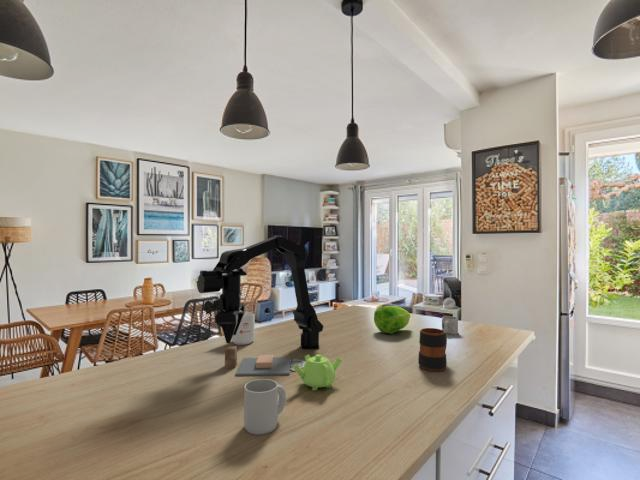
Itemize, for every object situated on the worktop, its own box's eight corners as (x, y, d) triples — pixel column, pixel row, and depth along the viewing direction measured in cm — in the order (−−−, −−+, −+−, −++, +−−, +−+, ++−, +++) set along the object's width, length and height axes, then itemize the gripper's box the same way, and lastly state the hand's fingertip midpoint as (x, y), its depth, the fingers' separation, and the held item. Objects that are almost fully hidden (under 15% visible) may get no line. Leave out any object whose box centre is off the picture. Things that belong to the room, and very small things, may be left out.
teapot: (331, 396, 91) (332, 364, 91) (290, 390, 95) (291, 359, 95) (342, 380, 102) (342, 351, 102) (305, 375, 106) (305, 347, 106)
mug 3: (444, 330, 160) (444, 315, 160) (459, 332, 156) (459, 317, 156) (437, 334, 152) (437, 319, 152) (453, 337, 148) (453, 321, 148)
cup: (238, 425, 77) (238, 384, 77) (276, 411, 84) (276, 373, 84) (254, 439, 72) (254, 395, 72) (294, 423, 78) (294, 383, 78)
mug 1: (250, 337, 146) (250, 311, 146) (257, 343, 138) (257, 315, 138) (221, 341, 140) (221, 313, 140) (226, 347, 132) (226, 318, 132)
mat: (290, 359, 120) (290, 357, 120) (289, 374, 106) (289, 372, 106) (243, 359, 119) (243, 357, 119) (235, 375, 105) (235, 373, 105)
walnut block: (236, 364, 115) (236, 346, 115) (234, 368, 111) (235, 349, 111) (226, 364, 114) (227, 346, 114) (224, 368, 111) (224, 349, 111)
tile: (274, 355, 117) (272, 362, 110) (273, 360, 117) (272, 368, 110) (258, 355, 116) (256, 362, 109) (258, 360, 116) (255, 368, 109)
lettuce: (421, 331, 157) (421, 304, 157) (390, 338, 146) (390, 309, 146) (398, 325, 168) (398, 300, 168) (367, 331, 157) (367, 304, 157)
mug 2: (457, 365, 115) (457, 329, 115) (436, 374, 107) (436, 336, 107) (434, 358, 121) (434, 324, 121) (412, 366, 114) (413, 330, 114)
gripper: (213, 286, 122) (213, 331, 122) (197, 295, 103) (197, 348, 103) (245, 286, 122) (245, 331, 122) (235, 294, 104) (235, 347, 104)
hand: (231, 338), depth 113 cm, fingers open, 9 cm apart
